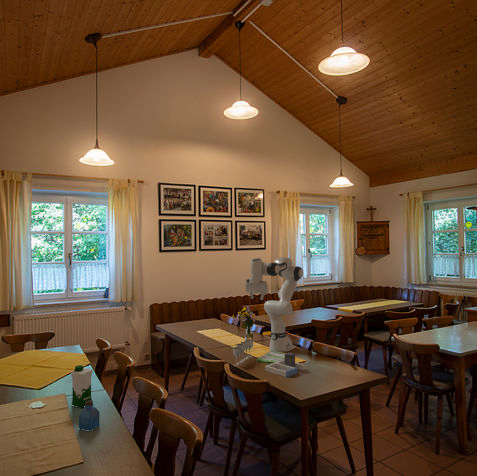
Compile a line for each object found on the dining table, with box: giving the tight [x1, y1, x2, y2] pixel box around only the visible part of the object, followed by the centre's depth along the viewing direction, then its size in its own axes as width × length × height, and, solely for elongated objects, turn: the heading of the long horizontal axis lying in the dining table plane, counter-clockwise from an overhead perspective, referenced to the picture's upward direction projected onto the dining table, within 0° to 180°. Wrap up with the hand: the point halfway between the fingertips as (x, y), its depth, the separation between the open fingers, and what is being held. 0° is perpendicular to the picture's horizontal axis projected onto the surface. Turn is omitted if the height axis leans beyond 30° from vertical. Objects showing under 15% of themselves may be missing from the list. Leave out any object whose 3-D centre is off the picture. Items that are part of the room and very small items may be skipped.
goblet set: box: [232, 339, 254, 367], centre depth 274 cm, size 28×6×13 cm, turn 154°
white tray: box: [264, 360, 306, 378], centre depth 251 cm, size 20×19×4 cm
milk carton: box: [70, 364, 94, 408], centre depth 198 cm, size 9×9×20 cm
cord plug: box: [285, 351, 296, 368], centre depth 254 cm, size 5×5×10 cm
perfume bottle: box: [78, 400, 100, 431], centre depth 173 cm, size 6×6×12 cm
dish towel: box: [255, 350, 287, 365], centre depth 276 cm, size 17×23×4 cm
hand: (256, 299), depth 278 cm, fingers open, 8 cm apart
